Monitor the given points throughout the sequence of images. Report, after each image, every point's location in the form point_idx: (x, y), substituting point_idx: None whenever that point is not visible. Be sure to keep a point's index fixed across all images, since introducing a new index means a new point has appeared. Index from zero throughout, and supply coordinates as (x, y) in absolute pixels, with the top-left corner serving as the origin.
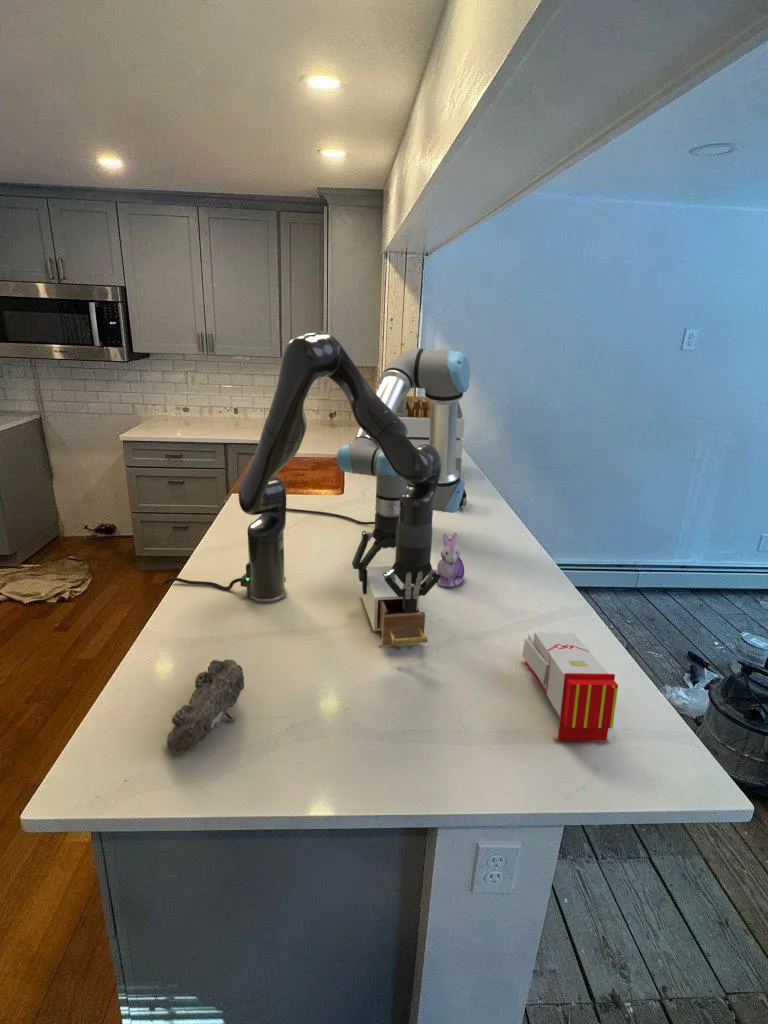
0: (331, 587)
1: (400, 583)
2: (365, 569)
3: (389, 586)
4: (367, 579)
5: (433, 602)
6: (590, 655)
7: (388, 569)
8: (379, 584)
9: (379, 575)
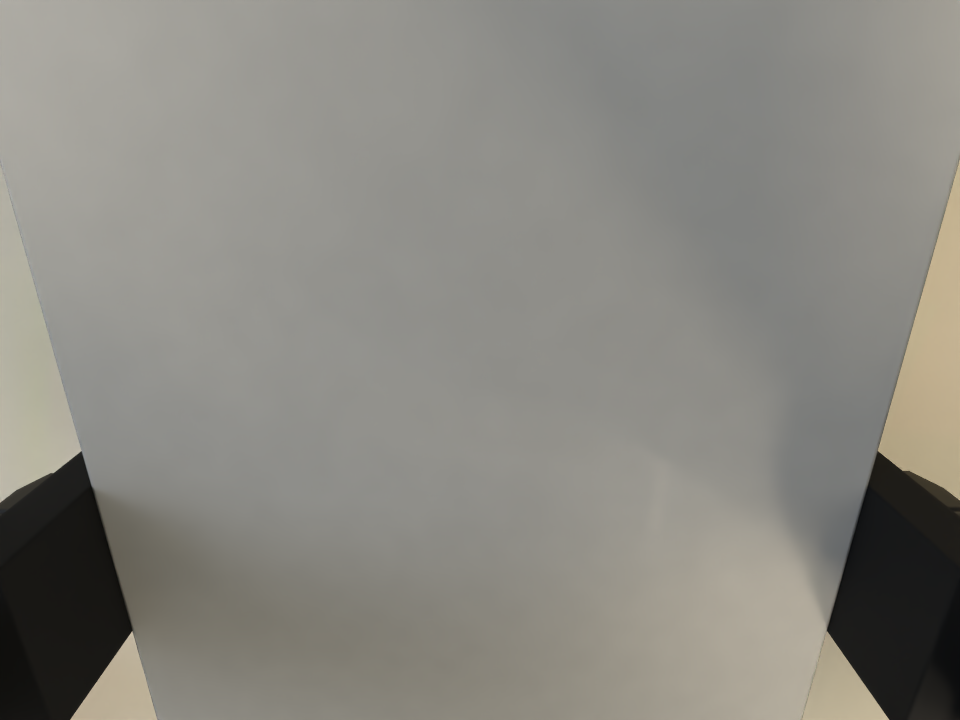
0: (827, 654)
1: (280, 165)
2: (956, 652)
3: (558, 40)
4: (866, 443)
5: (36, 356)
6: None
7: (423, 694)
8: (750, 174)
9: (625, 532)
